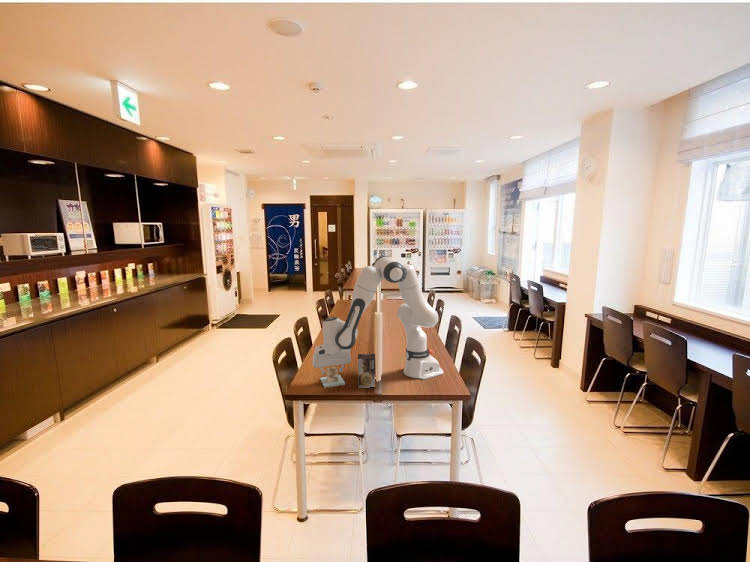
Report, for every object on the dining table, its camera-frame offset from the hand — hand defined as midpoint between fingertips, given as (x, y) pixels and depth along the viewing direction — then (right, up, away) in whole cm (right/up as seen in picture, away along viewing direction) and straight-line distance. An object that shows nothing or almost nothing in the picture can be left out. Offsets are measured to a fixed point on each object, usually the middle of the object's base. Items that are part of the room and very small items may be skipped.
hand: (332, 372), depth 186 cm
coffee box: (+18, -6, -3) cm, 20 cm away
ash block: (0, -4, +1) cm, 4 cm away
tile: (0, -5, +1) cm, 5 cm away
